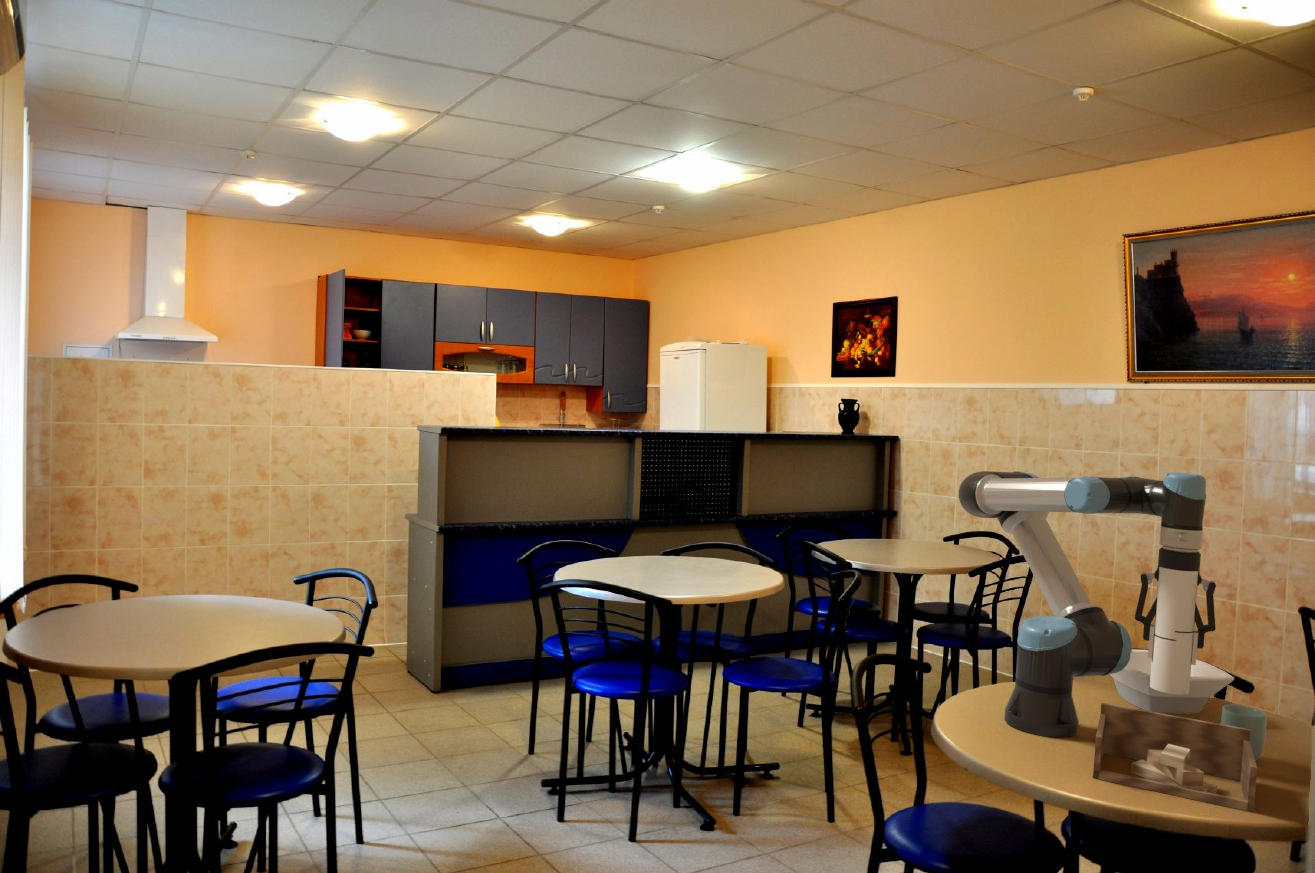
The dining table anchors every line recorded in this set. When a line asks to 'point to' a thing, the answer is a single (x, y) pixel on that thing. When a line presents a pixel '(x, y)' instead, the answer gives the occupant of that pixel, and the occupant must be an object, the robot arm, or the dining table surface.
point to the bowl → (1140, 694)
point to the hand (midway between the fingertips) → (1171, 659)
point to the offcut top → (1175, 756)
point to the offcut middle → (1176, 770)
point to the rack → (1207, 741)
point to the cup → (1247, 724)
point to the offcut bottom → (1165, 776)
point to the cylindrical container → (1173, 631)
